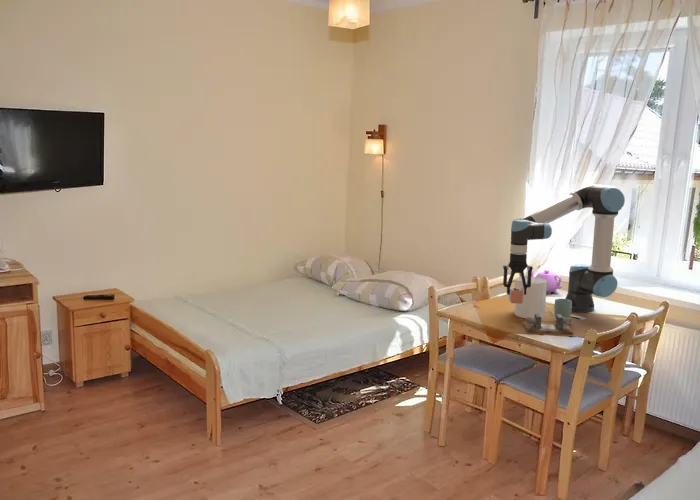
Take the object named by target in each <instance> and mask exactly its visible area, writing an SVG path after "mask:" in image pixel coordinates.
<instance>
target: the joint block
mask: <svg viewBox="0 0 700 500" xmlns="http://www.w3.org/2000/svg"><path fill="white" fill-rule="evenodd" d="M511 288H512V294H511V302H510V303H511V304H515V303H521V304H522V301H523V290H522V289H521V288H516V287H511Z"/></svg>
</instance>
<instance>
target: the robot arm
mask: <svg viewBox="0 0 700 500" xmlns="http://www.w3.org/2000/svg"><path fill="white" fill-rule="evenodd" d="M625 199H626V198H625V194H624V192H623V191H622V190H621V189H620V188H618V187H615V186H612V185H604V184H596V183H594V184H588V185H586V186H583V187H581V188H578V189H575V190H574V191H572V192H570V193H569V195H568V196H566V197H564V198H562V199H560V200H558V201H557V202H555V203H552V204H550V205H549V206H547V207H544V208H542V209H541V210H538V211H536V212H534V213H532V214H530V215H528V216H526V217H523V218H516V219H514V220H512V221H511V228H510V247H509V248H510V253H509V262H508V264H507V265H505V264H503V265H502V269H503V279H502V280H503V281H502V284H503V287H505V288H506V294H507V295H508V301H509V303H511V294H512V288H513V287H511V286H512V282H513V280H514V277H515V275H516V274H518V273H519V274H520V277H521V278H522V283H523V287H522V290H523V301H522V302H524V295H526V289H527V288H528V287H531V271H532V270H533V266H532V265H528V264H527V258H528V257H527V256H528V255H527V253H528V241H531V240H532V241H534V240H547V239H549V238H550V237H551V236H552V234H553V229H552V226H551V224H550V223H552V222H554V221H556V220H558V219H560V218H562V217H564V216H566V215H567V214H570V213H572V212H574V211H581V210H583V209H587V208H592V210H591V211H592V212H591V214H592V216H594V228H593V230H594V231H593V241H592V251H591V252H592V255H591V264H584V263H583V264H573V265H571V266H570V267H569V271H568V274H569V275H568V288H567V294H566V296H565V298H564V299H568V300H571V301H572V309H571V312H578V313H591V312H593V311H595V304H594V298H593V295H594V296H596V297H601V298H607V297H608V298H609V297H610V296H612V295H613V294H614V293H615V291H616V290H617V287H618V280H617V278H616V277H615V276H614V269H613V267H612V266H611V264H612V263H611V260H612V252H613V251H612V249H613V238H614V226H615V225H614V224H615V218H616V217H617V216H618V215H619V211H620V210H622V209H623V207H624V205H625V202H626V201H625ZM509 268H510V270H511V271H510V275H509V278H508V270H509ZM526 269H527V276H525V270H526ZM525 277H527V284H526V281H525Z"/></svg>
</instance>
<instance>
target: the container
mask: <svg viewBox="0 0 700 500" xmlns="http://www.w3.org/2000/svg"><path fill="white" fill-rule="evenodd" d="M524 277H525V281H526V284H527V276H524ZM522 287H523V283H522V278H521V276H519V277H516V281H515V288H521V289H522ZM546 288H547V280H545V279H543V278H538V277H536V276H534V277H531V287H528V288H527V289H526V295H524V302H522V304H521V303H514V310H513V311H514V312H513V314H514V315H515V316H516V317H519V318H523V319H527V317H534V316H535V314H539V315H540V316H541V319H542V318H544V317H545V314H546V313H545V312H546V299H547V293H546Z"/></svg>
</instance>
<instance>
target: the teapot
mask: <svg viewBox="0 0 700 500" xmlns="http://www.w3.org/2000/svg"><path fill="white" fill-rule="evenodd" d="M531 277H538V278H543V279H545V280H547V288H546V295H552V293H555V292H556V291H557V290H560V289H561V290H562V287H563V286H562V284H561V282H562V278H561V276H560V275H557V274H555V273H553V272H550V270H548V269H544V271H540V272H538V273H537V275H536V276H534V271H533V269H532V271H531Z"/></svg>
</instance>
